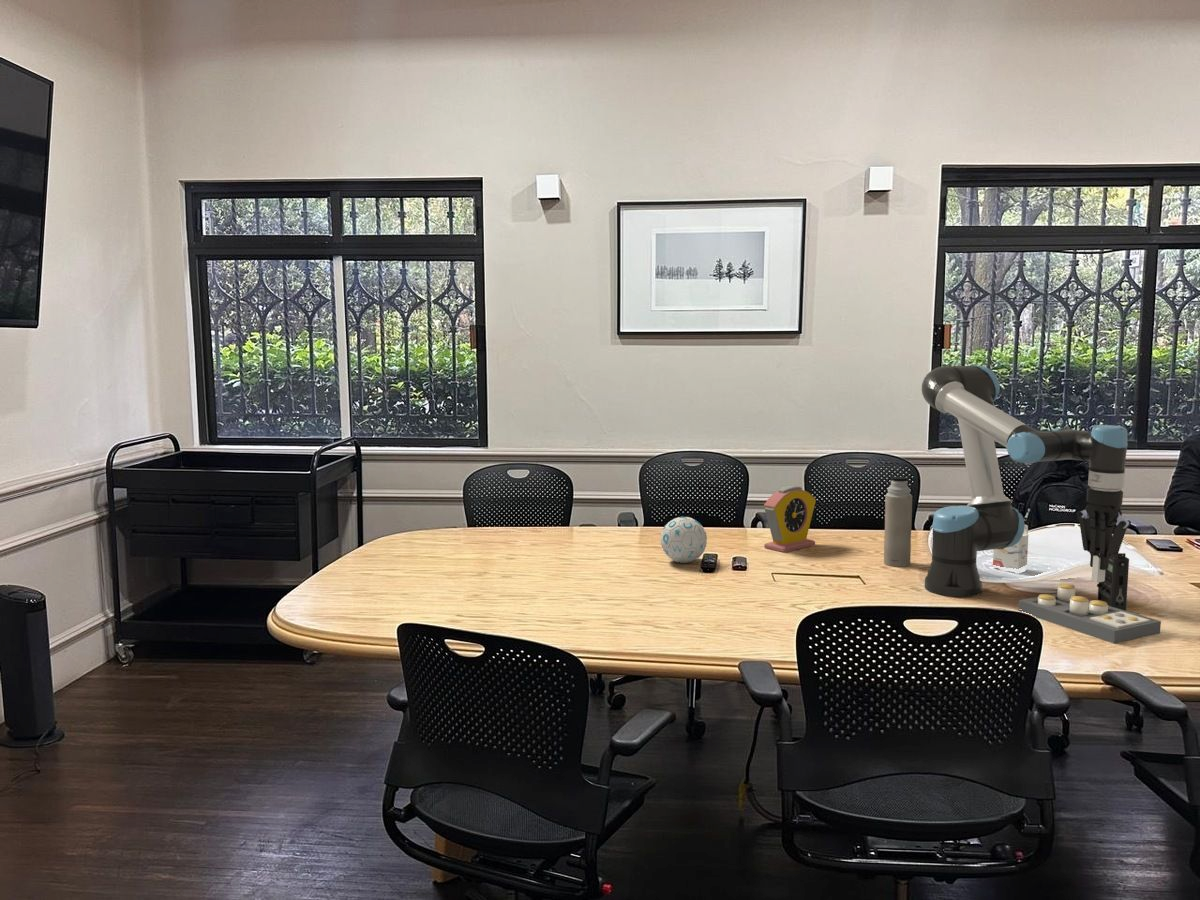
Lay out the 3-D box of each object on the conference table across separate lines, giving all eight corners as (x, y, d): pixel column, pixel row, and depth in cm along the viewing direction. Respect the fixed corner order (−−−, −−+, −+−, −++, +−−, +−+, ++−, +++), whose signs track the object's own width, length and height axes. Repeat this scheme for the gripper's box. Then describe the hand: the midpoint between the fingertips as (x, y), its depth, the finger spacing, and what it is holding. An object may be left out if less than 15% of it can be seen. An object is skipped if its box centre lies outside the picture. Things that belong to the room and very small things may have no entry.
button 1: (1033, 611, 212) (1034, 595, 211) (1044, 608, 213) (1045, 593, 213) (1047, 615, 208) (1048, 599, 208) (1058, 613, 210) (1059, 597, 209)
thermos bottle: (879, 563, 262) (881, 477, 259) (890, 559, 268) (893, 474, 265) (903, 568, 257) (905, 480, 253) (914, 563, 262) (917, 477, 259)
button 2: (1053, 599, 214) (1054, 584, 214) (1064, 597, 216) (1065, 582, 215) (1067, 604, 210) (1068, 588, 210) (1078, 602, 212) (1079, 586, 211)
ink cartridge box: (991, 568, 255) (993, 522, 253) (1001, 566, 257) (1002, 520, 256) (1018, 574, 247) (1020, 526, 246) (1027, 572, 250) (1029, 524, 248)
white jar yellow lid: (1065, 613, 203) (1066, 597, 203) (1076, 611, 205) (1077, 595, 204) (1080, 618, 200) (1081, 601, 199) (1091, 615, 201) (1092, 599, 201)
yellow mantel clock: (778, 554, 277) (779, 491, 274) (758, 549, 284) (758, 488, 282) (820, 544, 290) (821, 484, 287) (799, 539, 297) (800, 481, 295)
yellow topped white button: (1084, 617, 206) (1085, 601, 206) (1096, 615, 208) (1096, 599, 207) (1099, 622, 202) (1100, 605, 202) (1111, 619, 204) (1111, 603, 203)
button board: (1018, 611, 213) (1019, 597, 213) (1062, 603, 219) (1062, 589, 219) (1113, 643, 189) (1114, 627, 189) (1160, 633, 195) (1161, 618, 195)
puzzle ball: (661, 556, 277) (661, 512, 276) (706, 556, 276) (706, 512, 274) (660, 567, 262) (660, 521, 261) (707, 568, 261) (707, 522, 259)
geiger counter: (1091, 598, 223) (1094, 544, 221) (1110, 599, 222) (1113, 545, 220) (1108, 610, 213) (1111, 554, 211) (1127, 611, 212) (1131, 554, 210)
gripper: (1070, 485, 206) (1063, 576, 209) (1120, 494, 194) (1112, 590, 197) (1091, 482, 208) (1084, 572, 212) (1141, 491, 197) (1133, 586, 200)
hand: (1097, 581), depth 204 cm, fingers closed
